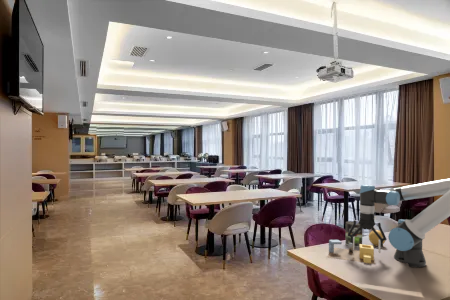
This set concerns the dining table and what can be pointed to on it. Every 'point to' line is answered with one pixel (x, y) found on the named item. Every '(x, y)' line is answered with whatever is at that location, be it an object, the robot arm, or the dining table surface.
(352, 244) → the pintle
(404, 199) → the robot arm
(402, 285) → the dining table surface
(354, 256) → the board
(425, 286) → the dining table surface
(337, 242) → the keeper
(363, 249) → the link
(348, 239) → the coffee can
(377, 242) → the stress ball
